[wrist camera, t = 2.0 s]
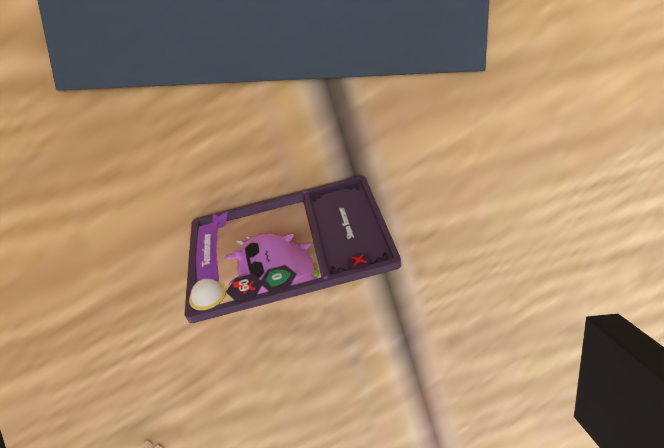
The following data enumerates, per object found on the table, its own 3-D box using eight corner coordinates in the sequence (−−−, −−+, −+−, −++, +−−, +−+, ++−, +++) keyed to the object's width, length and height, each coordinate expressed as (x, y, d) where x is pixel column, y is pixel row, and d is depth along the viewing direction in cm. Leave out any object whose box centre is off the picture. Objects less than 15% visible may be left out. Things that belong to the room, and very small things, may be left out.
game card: (400, 247, 19) (177, 306, 19) (411, 330, 23) (220, 382, 22) (361, 162, 25) (186, 207, 24) (375, 239, 28) (220, 280, 28)
